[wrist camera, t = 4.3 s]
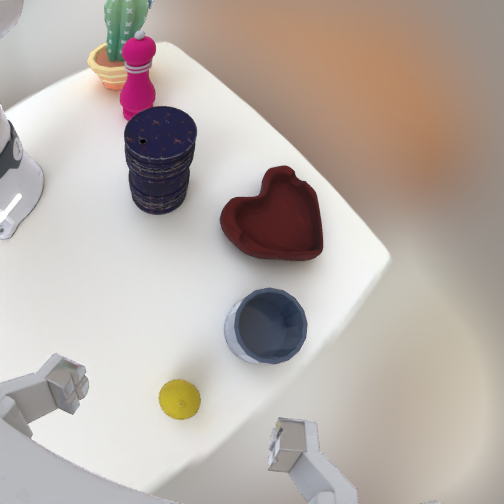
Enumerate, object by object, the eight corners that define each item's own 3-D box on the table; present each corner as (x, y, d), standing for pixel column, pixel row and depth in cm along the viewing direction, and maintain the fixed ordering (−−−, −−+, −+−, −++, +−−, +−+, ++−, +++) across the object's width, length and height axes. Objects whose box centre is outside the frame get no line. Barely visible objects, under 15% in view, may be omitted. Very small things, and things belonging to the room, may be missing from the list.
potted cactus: (160, 89, 55) (173, -8, 33) (93, 106, 49) (84, 6, 27) (145, 57, 58) (155, -26, 36) (87, 71, 52) (83, -14, 30)
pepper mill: (151, 98, 54) (157, 20, 36) (157, 119, 52) (165, 37, 34) (118, 105, 51) (116, 26, 33) (123, 127, 50) (120, 43, 32)
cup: (233, 370, 41) (245, 372, 35) (217, 305, 44) (226, 296, 37) (294, 352, 44) (315, 351, 38) (278, 292, 47) (296, 281, 41)
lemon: (205, 396, 38) (213, 405, 31) (178, 420, 36) (181, 434, 29) (178, 369, 39) (181, 373, 32) (151, 393, 36) (148, 402, 29)
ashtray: (279, 297, 47) (292, 290, 42) (207, 227, 47) (212, 213, 43) (334, 230, 55) (348, 219, 50) (273, 172, 55) (282, 156, 51)
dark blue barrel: (162, 157, 50) (166, 96, 36) (199, 191, 49) (213, 133, 36) (119, 188, 45) (108, 129, 32) (155, 226, 45) (153, 173, 32)
